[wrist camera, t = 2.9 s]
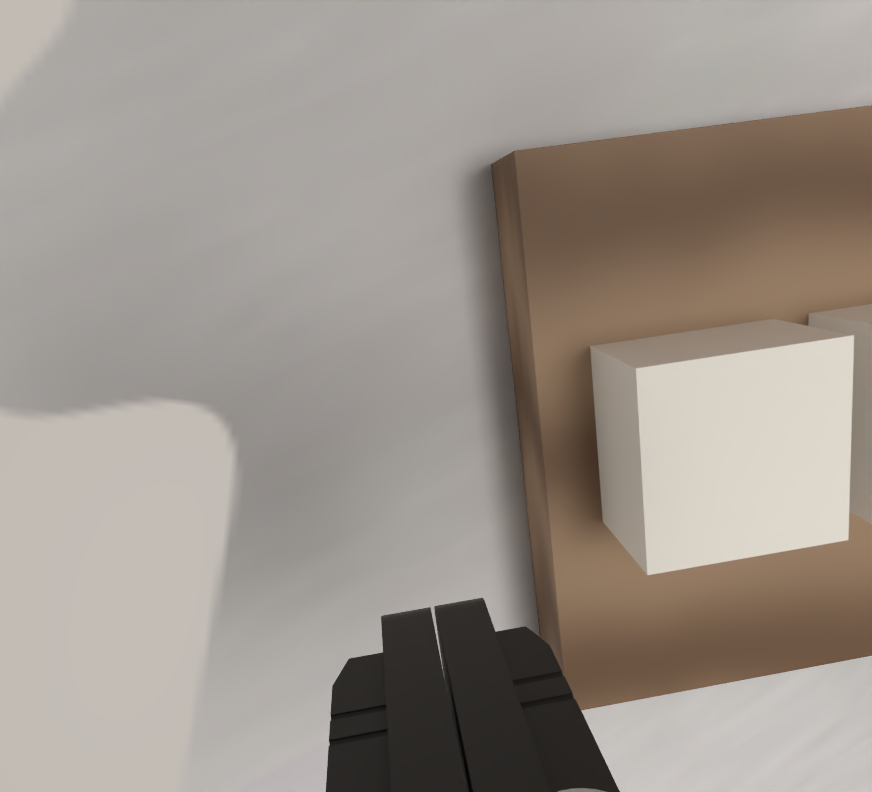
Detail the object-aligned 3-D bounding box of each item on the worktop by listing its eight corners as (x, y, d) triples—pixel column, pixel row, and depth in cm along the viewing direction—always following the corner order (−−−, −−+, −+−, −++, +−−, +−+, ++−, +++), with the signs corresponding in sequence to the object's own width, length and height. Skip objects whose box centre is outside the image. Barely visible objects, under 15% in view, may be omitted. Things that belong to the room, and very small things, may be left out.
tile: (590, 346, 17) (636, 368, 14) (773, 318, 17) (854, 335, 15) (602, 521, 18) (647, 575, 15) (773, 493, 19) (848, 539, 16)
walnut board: (491, 164, 19) (514, 151, 16) (1012, 97, 20) (1124, 73, 17) (541, 651, 23) (567, 712, 20) (974, 573, 24) (1059, 620, 21)
